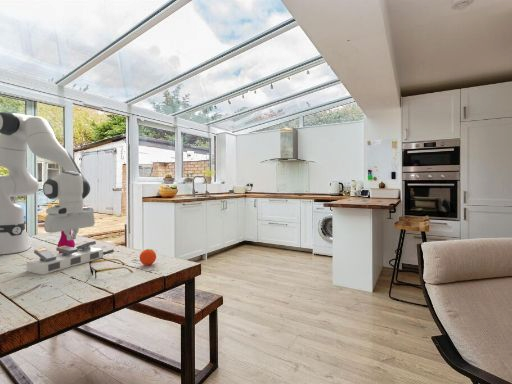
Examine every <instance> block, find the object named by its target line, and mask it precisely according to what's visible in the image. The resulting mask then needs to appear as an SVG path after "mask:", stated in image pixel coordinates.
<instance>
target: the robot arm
mask: <svg viewBox="0 0 512 384" xmlns="http://www.w3.org/2000/svg"><path fill="white" fill-rule="evenodd" d="M28 148H29V150H30V152H32V154H33V155H35V156H36V157H39V158H40V159H44V160H48V161H50V162H53V163H55V164H57V165H59V166H60V167H62V168H63V170H62V171H60V172H59V175H57V176H55V177H52V178H48V179H46V180H45V182H44V183H43V186H42V193H43V194H44V196H45V197H46V198H47V199H50V200H58V203H57V204H56V205H53V206H50V207H47V208H46V210H45V213H46V215H45V218H44V224H43V226H44V228H43V229H44V231H45V232H46V233H50V234H53V233H59V232H60V233H61V231H64V233H65V235H66V236H67V240H76V239H77V235H78V232H79V229H84V228H85V229H86V228H91V227H94V226H95V223H96V222H95V216H94V215H95V214H94V208H93V207H91V206H84V199H85V198H86V197H87V196H88V195H89V194H90V192H91V185H90V183H89V182H88V180H87V179H86V177H84V175H83V174H82V172H81V170H80V168H79V167H78V164H77V163H76V161H75V160H74V158H73V157H72V155H71V153H70V152H69V151H68V150H67V149H66V148H64V147H63V146H62V145H61V144H60V143H59V141H58V139H57V137H56V135H55V133H54V131H53V126H52V124H51V122H50V121H49V120H48V119H45V118H43V117H41V116H33V115H31V114H22V113H15V112H14V113H12V112H10V111H9V112H8V111H3V112H2V111H1V112H0V167H2V168H5V169H7V170H8V174H0V255H9V254H10V255H11V254H16V253H21V252H25V251H28V250H29V249H30V248H32V244H31V245H30V242H29V235H28V234H29V233H28V232H27V231H26V225H25V224H26V223H25V222H24V221H25V220H24V219H25V217H24V214H25V213H24V208H23V207H22V206H21V205H20V204H17V203H14V202H13V201H12V199H11V197H26V196H30V195H34V194H35V195H36V193H37V192H38V190H39V186H40V185H39V181H38V179H36V178H35V177H34V176H33V175H32V174H31V173H30V172H29V169H28V167H27V166H28V165H27V155H28V154H27V153H28ZM70 230H71V235H70V234H69V233H70Z"/></svg>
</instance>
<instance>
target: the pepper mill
mask: <svg viewBox="0 0 512 384" xmlns="http://www.w3.org/2000/svg"><path fill="white" fill-rule="evenodd" d="M69 234H70V235H72V230H70V233H69ZM74 240H75V239H73V240H67V236H66V235H65V233H64V231H60V237H59V240H58V243H57V247H61V246H68V247H72V248H76V243H75V241H74ZM61 253H63V252H60V251H58V254H61Z"/></svg>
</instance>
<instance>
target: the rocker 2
mask: <svg viewBox="0 0 512 384" xmlns="http://www.w3.org/2000/svg"><path fill="white" fill-rule="evenodd" d="M55 249H56V251H57V252H59V251H60V252H63V253H67V254H71V253H75V252H78V249H77V248H76V247H74V248H72V247H68V246H61V247H58V246H57V247H56V248H55Z"/></svg>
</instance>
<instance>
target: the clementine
mask: <svg viewBox="0 0 512 384" xmlns="http://www.w3.org/2000/svg"><path fill="white" fill-rule="evenodd" d="M156 252H157V253H158V251H156ZM156 252H155V249H154V248H147V249H144V250H143V251H141V252H140V254H139V261H140V263H141V264H143V265H145V266H150V265H153V264H154V263H155V261H156V259H157V254H156Z"/></svg>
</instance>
